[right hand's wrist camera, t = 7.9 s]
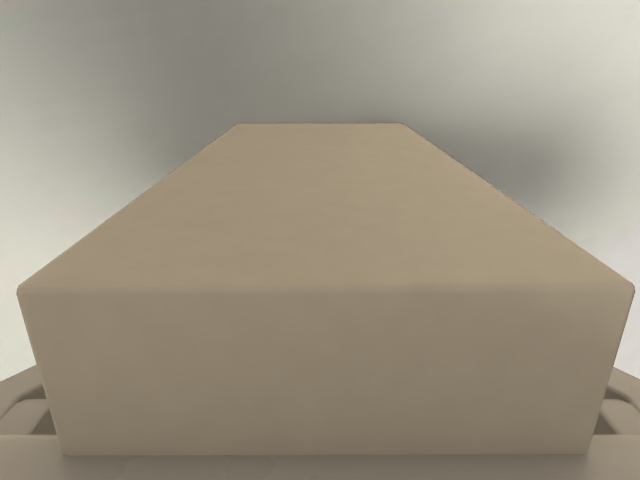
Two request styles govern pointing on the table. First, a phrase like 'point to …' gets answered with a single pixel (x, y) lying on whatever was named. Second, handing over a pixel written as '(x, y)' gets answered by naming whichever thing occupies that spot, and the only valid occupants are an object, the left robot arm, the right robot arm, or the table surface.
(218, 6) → the table surface
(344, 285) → the box
